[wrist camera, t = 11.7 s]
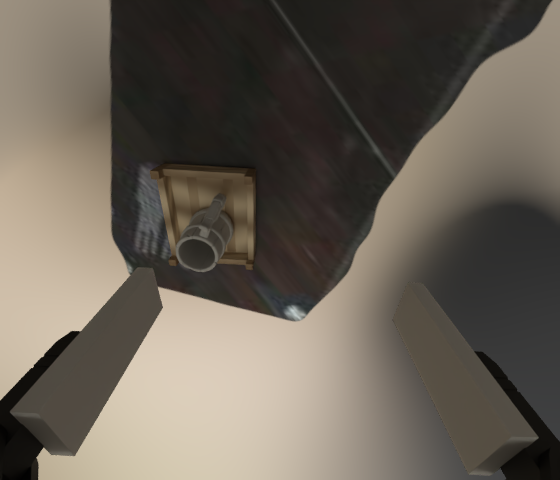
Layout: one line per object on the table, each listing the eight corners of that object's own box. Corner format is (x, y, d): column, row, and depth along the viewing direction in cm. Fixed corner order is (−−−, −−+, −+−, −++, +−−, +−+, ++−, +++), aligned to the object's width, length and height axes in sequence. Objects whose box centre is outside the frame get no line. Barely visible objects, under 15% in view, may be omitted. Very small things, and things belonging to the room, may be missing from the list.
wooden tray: (164, 163, 40) (149, 170, 36) (255, 168, 40) (252, 177, 36) (180, 250, 48) (169, 265, 44) (255, 254, 48) (252, 270, 44)
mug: (188, 234, 45) (159, 274, 35) (204, 176, 40) (176, 203, 29) (227, 249, 47) (210, 291, 36) (248, 195, 41) (236, 227, 31)
